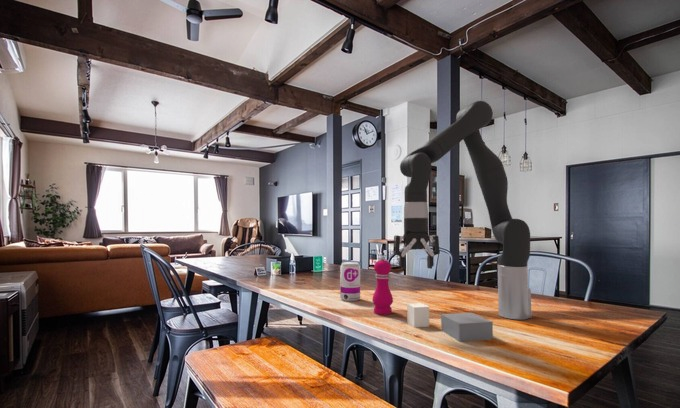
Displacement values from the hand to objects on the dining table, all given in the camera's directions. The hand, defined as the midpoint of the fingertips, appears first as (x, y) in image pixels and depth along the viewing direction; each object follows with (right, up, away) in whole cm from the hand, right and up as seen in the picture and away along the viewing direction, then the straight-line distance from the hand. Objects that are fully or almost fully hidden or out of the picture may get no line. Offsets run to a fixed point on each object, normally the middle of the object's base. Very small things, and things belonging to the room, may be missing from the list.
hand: (416, 268), depth 108 cm
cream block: (0, -18, 0) cm, 18 cm away
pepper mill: (-9, -18, +14) cm, 25 cm away
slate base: (+12, -17, -10) cm, 23 cm away
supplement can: (-20, -20, +35) cm, 45 cm away
